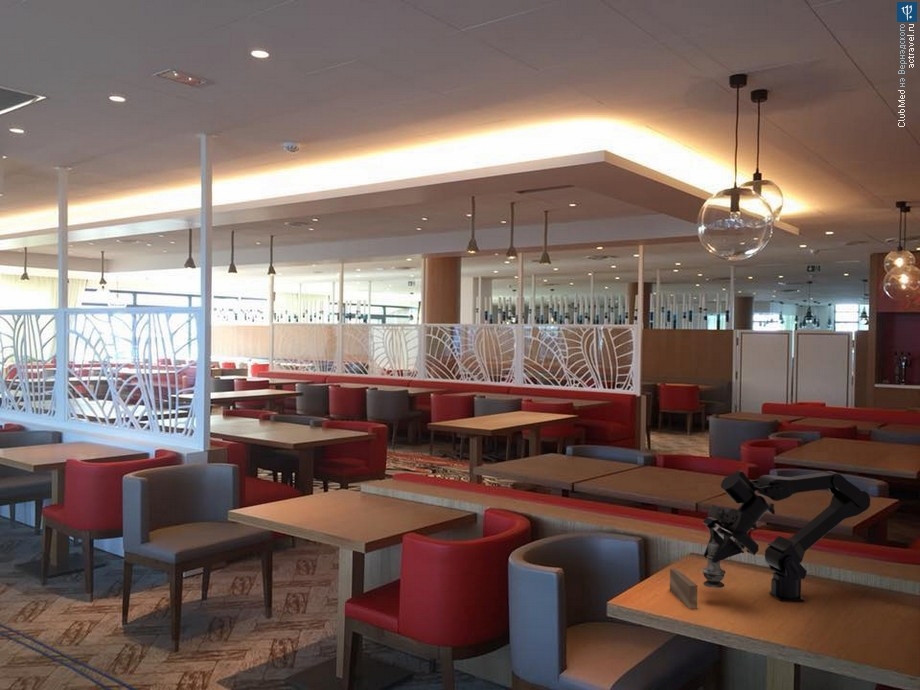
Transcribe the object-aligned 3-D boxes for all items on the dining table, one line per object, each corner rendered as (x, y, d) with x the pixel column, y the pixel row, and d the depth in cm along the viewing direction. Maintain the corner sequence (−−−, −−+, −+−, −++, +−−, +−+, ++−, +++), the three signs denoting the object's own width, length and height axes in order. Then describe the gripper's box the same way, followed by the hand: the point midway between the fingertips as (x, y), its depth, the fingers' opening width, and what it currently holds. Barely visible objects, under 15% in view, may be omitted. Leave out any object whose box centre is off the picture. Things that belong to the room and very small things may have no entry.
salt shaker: (722, 589, 199) (722, 542, 199) (699, 585, 202) (699, 539, 202) (728, 583, 204) (728, 537, 204) (705, 579, 207) (705, 534, 207)
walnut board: (676, 590, 212) (677, 568, 212) (697, 608, 198) (697, 585, 198) (669, 590, 212) (670, 568, 212) (689, 609, 198) (689, 585, 198)
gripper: (709, 487, 212) (671, 529, 210) (748, 502, 194) (707, 549, 192) (735, 514, 214) (698, 556, 212) (776, 531, 196) (736, 578, 194)
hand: (708, 559), depth 203 cm, fingers closed on salt shaker, 4 cm apart
